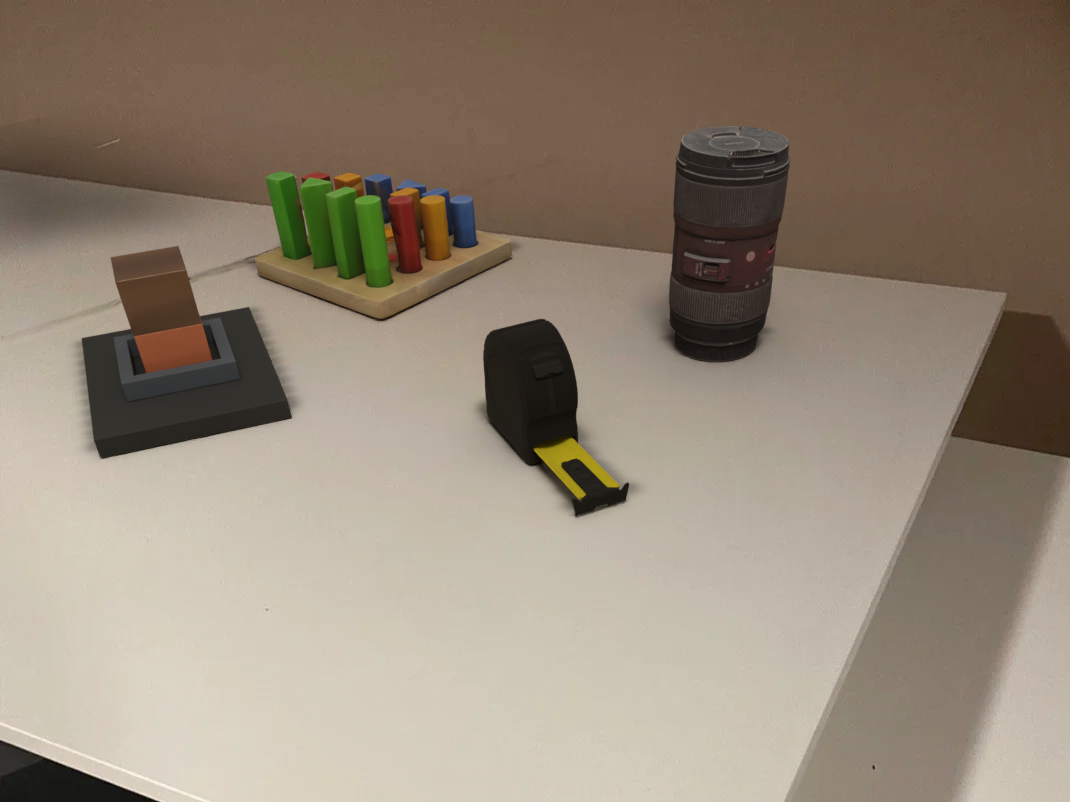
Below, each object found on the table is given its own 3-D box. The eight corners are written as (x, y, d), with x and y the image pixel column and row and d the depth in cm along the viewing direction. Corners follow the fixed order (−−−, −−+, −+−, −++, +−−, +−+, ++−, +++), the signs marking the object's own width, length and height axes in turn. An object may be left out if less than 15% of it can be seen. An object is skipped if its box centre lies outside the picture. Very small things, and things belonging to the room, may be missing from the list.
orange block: (216, 373, 78) (202, 323, 76) (150, 387, 77) (133, 336, 74) (207, 347, 82) (193, 298, 79) (144, 359, 81) (128, 310, 78)
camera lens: (785, 354, 80) (814, 146, 70) (692, 374, 78) (708, 164, 68) (737, 314, 86) (757, 115, 75) (649, 332, 84) (658, 131, 73)
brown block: (201, 323, 76) (186, 269, 73) (133, 336, 74) (115, 282, 72) (193, 298, 79) (178, 245, 76) (128, 310, 78) (110, 257, 75)
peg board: (515, 257, 96) (510, 159, 90) (381, 323, 87) (366, 218, 81) (389, 219, 104) (376, 126, 98) (255, 275, 95) (232, 177, 89)
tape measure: (485, 419, 75) (476, 313, 69) (538, 405, 76) (533, 299, 70) (573, 519, 65) (571, 405, 60) (631, 500, 67) (635, 387, 61)
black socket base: (291, 418, 76) (283, 380, 74) (101, 458, 73) (86, 421, 71) (253, 323, 88) (244, 289, 86) (87, 355, 85) (74, 320, 83)
